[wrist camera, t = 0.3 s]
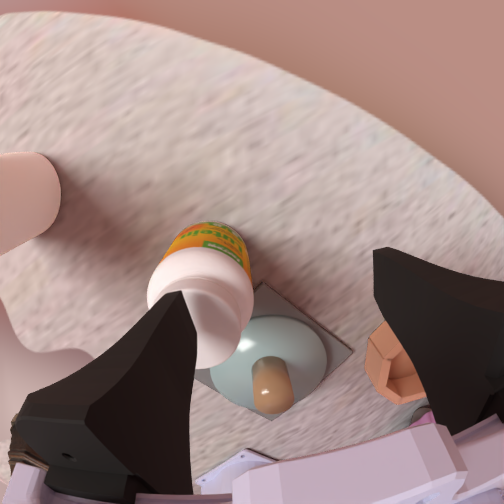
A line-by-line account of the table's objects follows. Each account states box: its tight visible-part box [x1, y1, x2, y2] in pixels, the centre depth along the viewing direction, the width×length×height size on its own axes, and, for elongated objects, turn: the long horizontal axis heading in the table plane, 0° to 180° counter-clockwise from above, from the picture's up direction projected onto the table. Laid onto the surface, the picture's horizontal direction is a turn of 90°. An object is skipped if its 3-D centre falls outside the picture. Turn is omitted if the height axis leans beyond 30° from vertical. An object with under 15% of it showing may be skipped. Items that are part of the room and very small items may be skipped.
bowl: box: [364, 320, 426, 405], centre depth 24 cm, size 8×8×3 cm
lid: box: [210, 315, 327, 414], centre depth 23 cm, size 9×9×4 cm
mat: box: [194, 282, 353, 421], centre depth 25 cm, size 10×10×1 cm
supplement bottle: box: [147, 221, 254, 369], centre depth 17 cm, size 5×5×10 cm
